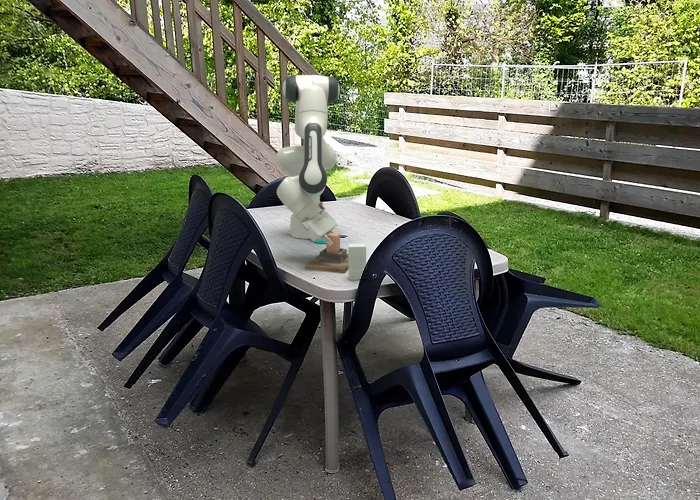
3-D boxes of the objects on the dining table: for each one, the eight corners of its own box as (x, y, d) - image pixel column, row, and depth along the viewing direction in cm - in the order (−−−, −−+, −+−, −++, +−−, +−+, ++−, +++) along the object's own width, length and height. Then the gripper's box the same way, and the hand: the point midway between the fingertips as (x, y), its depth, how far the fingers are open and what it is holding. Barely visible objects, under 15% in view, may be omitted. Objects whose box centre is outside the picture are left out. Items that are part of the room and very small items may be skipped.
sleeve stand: (323, 254, 250) (323, 242, 248) (360, 258, 246) (360, 245, 244) (304, 269, 231) (304, 256, 230) (344, 273, 227) (344, 259, 226)
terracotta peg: (329, 253, 240) (329, 232, 238) (339, 254, 239) (340, 233, 237) (326, 256, 236) (326, 235, 234) (336, 257, 235) (336, 236, 233)
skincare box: (365, 276, 224) (365, 243, 221) (366, 280, 220) (366, 246, 217) (348, 276, 224) (348, 243, 220) (348, 280, 220) (348, 246, 216)
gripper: (305, 215, 225) (331, 244, 225) (324, 204, 244) (348, 231, 244) (293, 226, 228) (319, 255, 228) (313, 215, 247) (337, 241, 247)
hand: (334, 242), depth 236 cm, fingers closed on terracotta peg, 4 cm apart
